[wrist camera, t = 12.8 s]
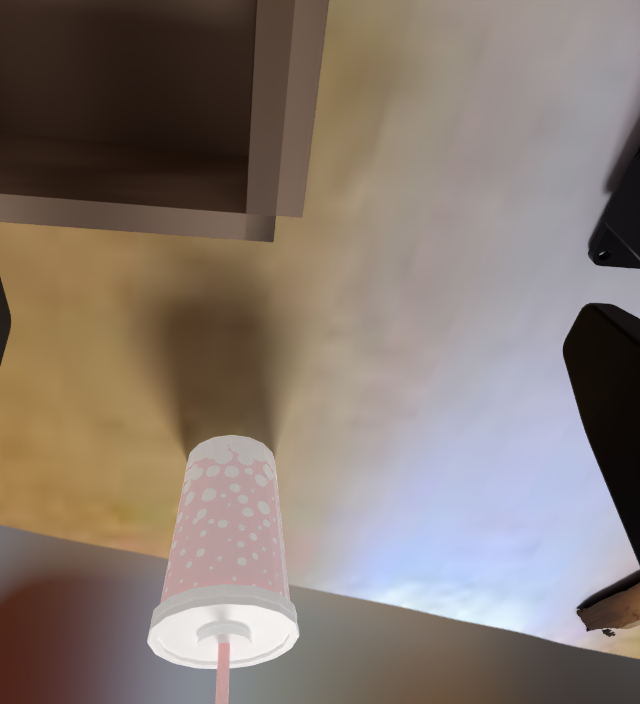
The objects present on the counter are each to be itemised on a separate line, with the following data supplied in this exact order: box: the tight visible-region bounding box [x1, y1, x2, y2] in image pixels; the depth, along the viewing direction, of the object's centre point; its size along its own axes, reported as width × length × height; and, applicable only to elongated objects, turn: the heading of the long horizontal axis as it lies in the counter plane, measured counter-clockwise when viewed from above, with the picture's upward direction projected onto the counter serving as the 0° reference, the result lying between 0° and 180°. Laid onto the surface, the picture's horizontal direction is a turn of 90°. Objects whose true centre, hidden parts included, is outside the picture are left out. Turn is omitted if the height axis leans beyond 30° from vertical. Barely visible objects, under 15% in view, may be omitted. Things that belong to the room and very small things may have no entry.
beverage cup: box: [147, 435, 299, 704], centre depth 25 cm, size 6×6×14 cm
